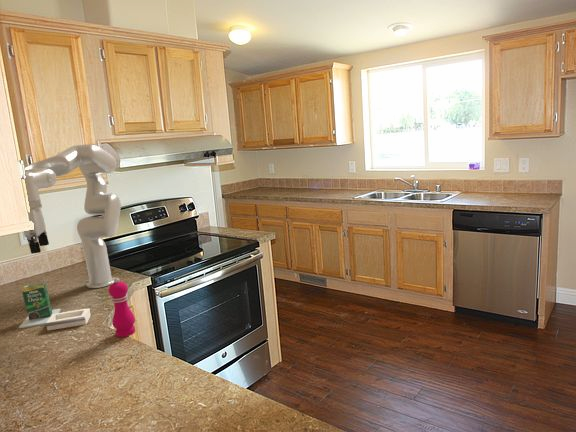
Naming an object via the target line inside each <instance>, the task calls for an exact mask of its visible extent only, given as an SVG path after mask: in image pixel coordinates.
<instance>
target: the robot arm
mask: <svg viewBox="0 0 576 432" xmlns="http://www.w3.org/2000/svg"><path fill="white" fill-rule="evenodd" d="M117 165H118V163H117V161H116V158H115V157H114V155H112V154H111V153H110V152H107V151H106V150H105V149H103V148H102V147H100V146H98V145H96V144H91V143H90V144H89V143H88V144H78V145H77V144H76V145H72V146H70V147H68V148H66V149H64V150H63V151H61V152H58V153H57V154H56V155H53V156H51V157H48V158H45V159H42V160H38V161H36V162H33V163H31V164H28V165H27V166H24V167H23V168H24V169H25V176H26V178H25V183H26V189H27V195H28V201H29V206H30V213H29V220H30V221H32V222H33V223H34V230H29V231H24V232H23V231H22V233H23V236H24V237H25V238H26V240H27V243H28V247H29V250H30V253H31V254H33V255H34V254H38V253H41V252H42V251H41V247H44V246H49V245H50V243H49V239H48V234H47V231H46V230H47V229H46V223H45V218H44V216H43V212H42V209H43V206H42V201H41V197H40V192H39V189H47V188H51V187H52V186H54V185H55V184H56V183H57V177H61V176H65V175H68V174H69V173H71V172H72V171H74V170H75V169H77V168H79V170H80V172H81V174H82V175H83V177H84V179H85V181H86V193H85V199H84V212H85V213H86V214H88V215H91V216H87V217H83V218H82V219H80V220H79V221H78V223H77V225H76V230H77V233H78V236H79V238H80V242H81V244H82V249H83V253H84V254H83V255H84V260H85V264H86V270H87V274H88V275H87V276H88V280H89V281H88V282H87V283H86V288H88V289H99V288H104V287H108V286H110V285H111V284H113V283H115V282H114V279H115V278H116V277H114V276H112V272H111V265H110V260H109V255H108V248H107V245H106V242H105V241H104V239H103V238H112V237H114V236H116V235H117V232H118V230H119V225H120V216H121V210H122V209H121V207H122V205H121V200H120V198H119V197H118V195H117V194H114V193H107V190H108V189H107V188H108V186H107V181H106V180H105V178H103V177H102V175H103V174H111V173H113V172H115V171H116V169H117ZM101 174H102V175H101Z"/></svg>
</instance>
